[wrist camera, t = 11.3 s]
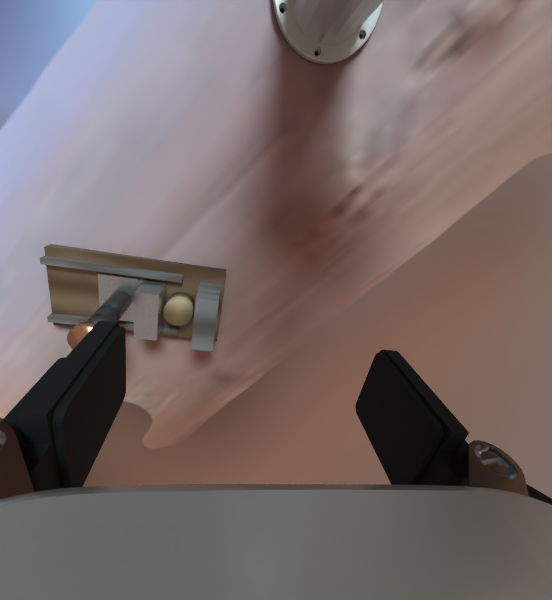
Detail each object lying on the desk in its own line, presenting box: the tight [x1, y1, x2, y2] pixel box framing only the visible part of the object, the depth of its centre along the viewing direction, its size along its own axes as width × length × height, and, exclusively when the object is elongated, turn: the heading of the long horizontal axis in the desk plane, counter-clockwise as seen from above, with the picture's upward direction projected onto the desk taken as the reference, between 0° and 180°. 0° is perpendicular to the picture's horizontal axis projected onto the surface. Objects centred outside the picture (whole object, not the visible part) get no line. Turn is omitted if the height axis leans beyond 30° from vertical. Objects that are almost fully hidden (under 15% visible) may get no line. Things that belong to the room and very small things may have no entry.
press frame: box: [40, 244, 226, 352], centre depth 41 cm, size 12×24×8 cm, turn 79°
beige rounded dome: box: [163, 292, 195, 326], centre depth 43 cm, size 4×4×3 cm
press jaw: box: [67, 273, 166, 349], centre depth 38 cm, size 7×9×12 cm
